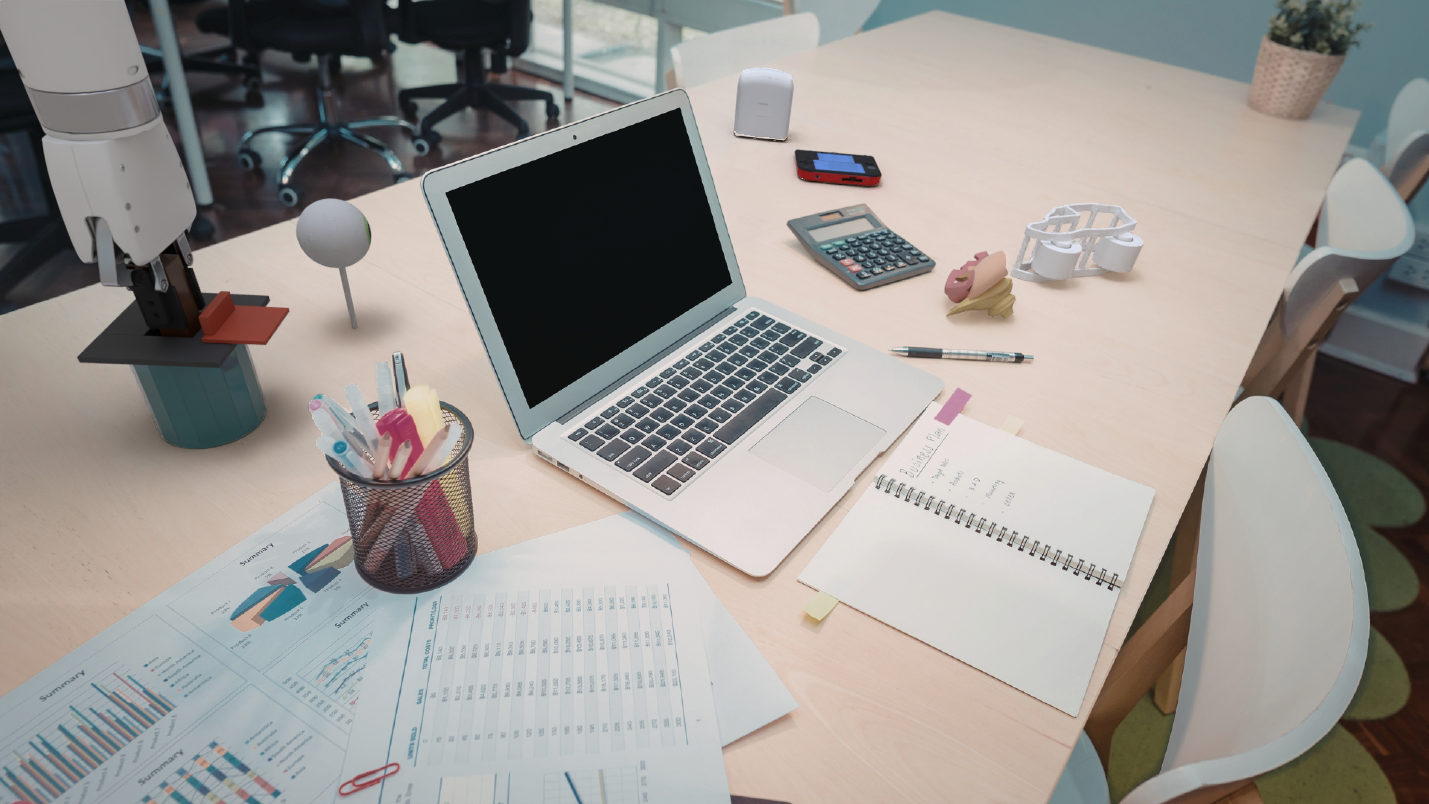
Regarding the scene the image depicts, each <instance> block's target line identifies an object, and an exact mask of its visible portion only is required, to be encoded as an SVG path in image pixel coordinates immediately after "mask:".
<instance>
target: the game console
mask: <svg viewBox="0 0 1429 804" xmlns="http://www.w3.org/2000/svg"><path fill="white" fill-rule="evenodd" d="M794 159H795V164H796V171H797V176H798V177H799V178H800V177H801V178H803V179H805V180H804V181H806V180H808V181H807V182H812V181H818V182H817V183H823V182H826V183H825V184H834V185H836V184H837V185H846V186H848V185H849V186H859V187H874V186H876V185H879V183H880V181H881V178H882V176H883V174H882V172H881V170H880V168H879V165H878V163H877V161H876V158H875V157H874V156H873V155H867V154H855V153H843V152H835V151H832V152H831V151H820V150H809V149H808V150H807V149H797V148H796V149H795V150H794ZM801 178H800V179H801ZM803 179H802V180H803Z"/></svg>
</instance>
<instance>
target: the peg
mask: <svg viewBox="0 0 1429 804" xmlns="http://www.w3.org/2000/svg"><path fill="white" fill-rule="evenodd" d="M159 257H160V260H161V263H162V266H163V269H164V272H165V275H166V278H167V281H168V286H175V287H176V290H177V293H178V295H179V298H180V301H181V304H182V306H183V309H184V312H185V314H186V317H187V320H188V323H189V325H188V327H187V328H186V329H185V330H172V329H160V332H161V334H162V336H163V337H187V338H193V337H194V336H195V335H196V333H197V332H198V331H199V330H200V329H201V327H202V326H201V323H200V321H199V318H198V317H199V316H200V313H199V310H198V307H197V305H196V302H195V299H194V296H193V293H192V291H191V288H190V285H189V282H188V279H187V276H186V274H185V271H184V268H183V265H182V262H181V259H180V256H179V255H176V254H159ZM134 266H135V269H136V270H143V271H145V272H147V273H149V272H148V270H147V267H146V265H142V266H138V265H134Z"/></svg>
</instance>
